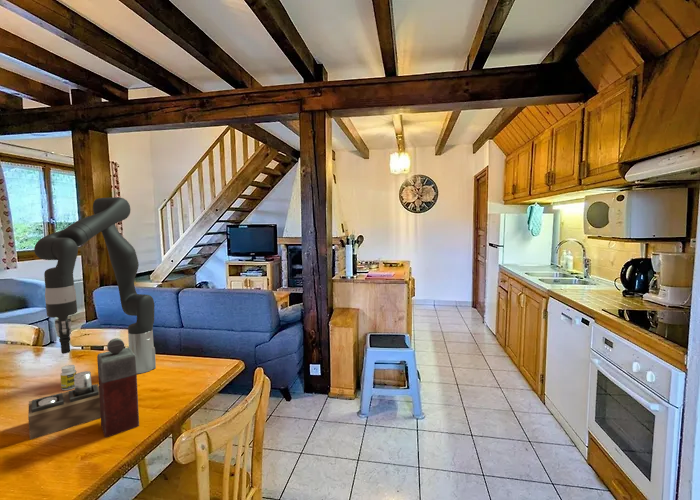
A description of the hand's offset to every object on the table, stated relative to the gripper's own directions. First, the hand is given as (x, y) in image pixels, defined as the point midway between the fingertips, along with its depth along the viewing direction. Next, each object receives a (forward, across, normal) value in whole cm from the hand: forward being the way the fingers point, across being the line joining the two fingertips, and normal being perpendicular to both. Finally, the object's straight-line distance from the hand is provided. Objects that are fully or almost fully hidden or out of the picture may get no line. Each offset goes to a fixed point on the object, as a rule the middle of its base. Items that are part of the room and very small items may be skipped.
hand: (65, 352), depth 112 cm
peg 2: (+15, -1, -4) cm, 15 cm away
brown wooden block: (+22, -1, +1) cm, 22 cm away
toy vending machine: (+22, -15, -11) cm, 29 cm away
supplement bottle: (+23, +27, 0) cm, 35 cm away
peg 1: (+21, -1, +6) cm, 22 cm away
